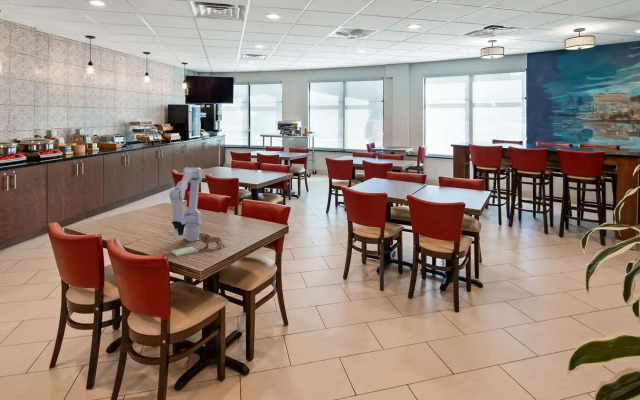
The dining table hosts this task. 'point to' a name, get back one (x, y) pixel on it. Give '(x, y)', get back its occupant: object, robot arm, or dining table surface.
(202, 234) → the lion figurine
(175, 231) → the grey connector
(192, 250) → the pale green rectangular panel
